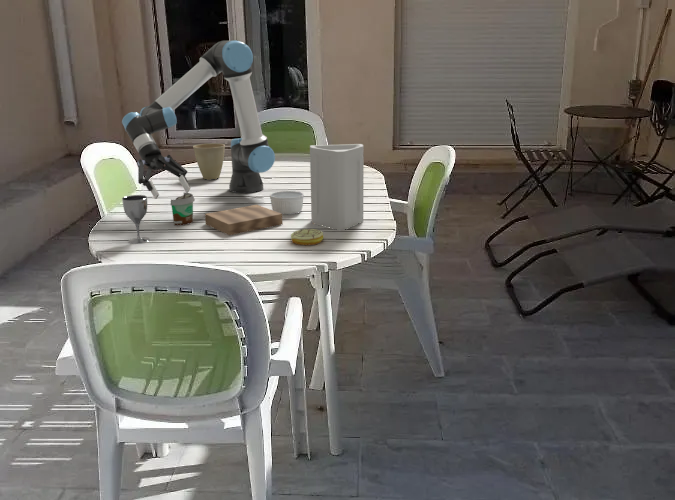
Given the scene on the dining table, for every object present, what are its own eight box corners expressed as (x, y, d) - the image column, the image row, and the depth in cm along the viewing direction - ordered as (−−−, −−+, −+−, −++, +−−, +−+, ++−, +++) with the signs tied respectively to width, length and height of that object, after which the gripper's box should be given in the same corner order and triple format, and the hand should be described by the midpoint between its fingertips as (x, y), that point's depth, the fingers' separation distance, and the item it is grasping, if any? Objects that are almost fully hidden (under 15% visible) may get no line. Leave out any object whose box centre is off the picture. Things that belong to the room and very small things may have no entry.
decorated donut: (298, 236, 233) (298, 226, 232) (327, 239, 230) (327, 228, 229) (286, 245, 224) (286, 234, 223) (317, 248, 221) (316, 236, 220)
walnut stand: (257, 214, 261) (256, 204, 260) (282, 224, 247) (282, 213, 246) (205, 224, 248) (204, 213, 247) (229, 235, 235) (228, 224, 233)
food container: (188, 227, 245) (186, 200, 242) (172, 226, 246) (170, 199, 243) (201, 218, 256) (199, 192, 253) (186, 217, 258) (184, 192, 254)
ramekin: (289, 205, 274) (288, 188, 272) (311, 211, 265) (310, 193, 263) (263, 211, 266) (262, 194, 263) (285, 217, 257) (284, 199, 254)
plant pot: (233, 177, 329) (231, 144, 324) (212, 182, 317) (210, 149, 312) (210, 174, 336) (208, 142, 331) (189, 179, 324) (186, 146, 320)
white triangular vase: (314, 231, 239) (312, 152, 230) (311, 220, 253) (309, 145, 244) (367, 229, 241) (368, 150, 232) (361, 218, 255) (362, 144, 246)
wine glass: (138, 245, 224) (133, 201, 220) (121, 241, 228) (116, 198, 224) (156, 239, 231) (151, 196, 226) (139, 236, 235) (135, 193, 230)
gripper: (172, 150, 267) (197, 193, 262) (114, 159, 250) (140, 205, 245) (178, 138, 262) (204, 182, 257) (120, 146, 245) (146, 193, 240)
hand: (173, 193), depth 251 cm, fingers open, 13 cm apart
